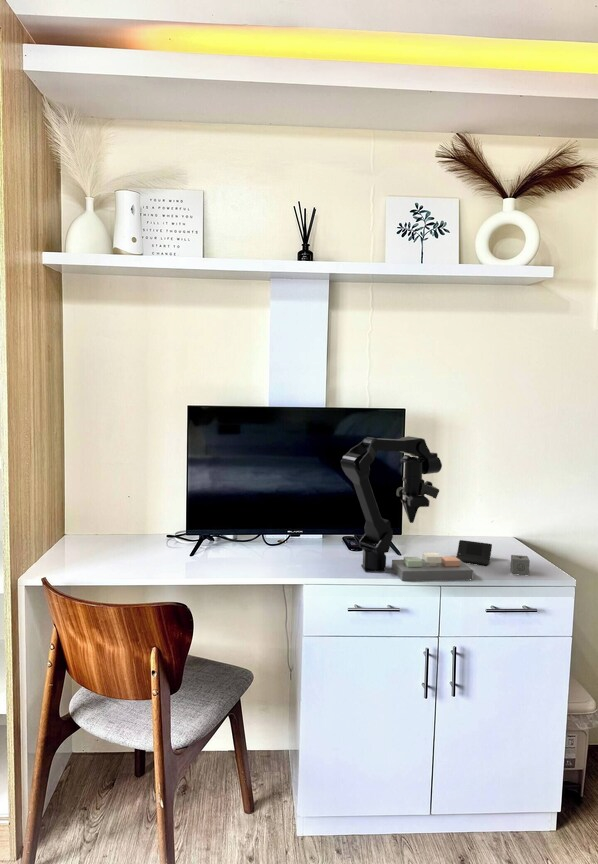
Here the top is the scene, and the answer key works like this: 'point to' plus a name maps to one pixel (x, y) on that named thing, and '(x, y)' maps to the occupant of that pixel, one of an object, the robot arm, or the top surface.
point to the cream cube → (432, 558)
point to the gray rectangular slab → (431, 572)
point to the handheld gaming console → (474, 552)
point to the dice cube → (519, 565)
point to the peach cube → (450, 561)
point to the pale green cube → (413, 562)
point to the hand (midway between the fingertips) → (411, 522)
